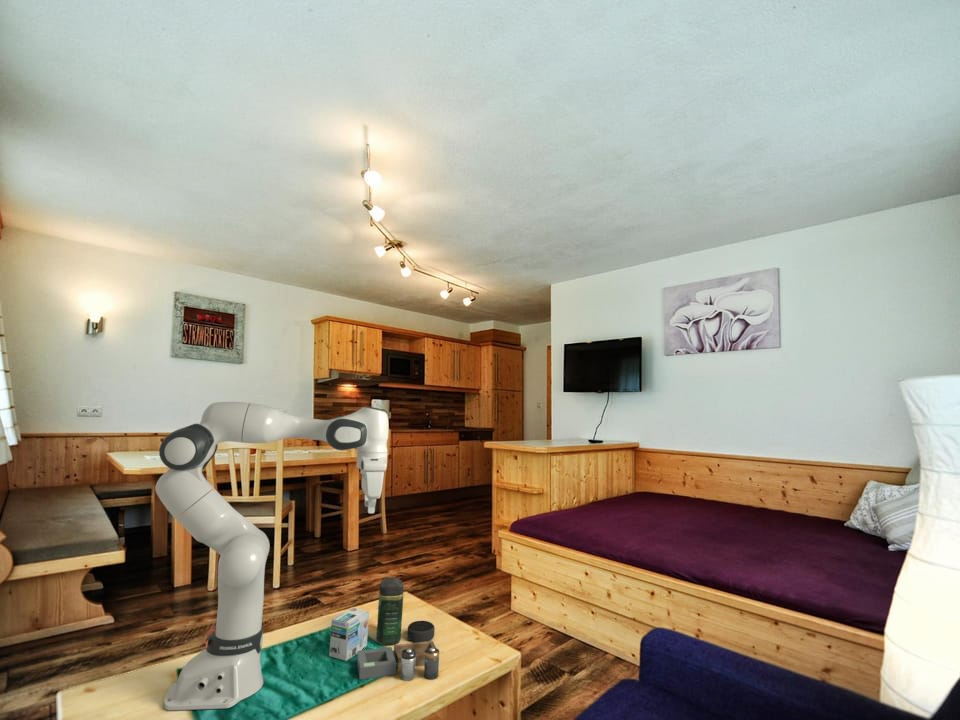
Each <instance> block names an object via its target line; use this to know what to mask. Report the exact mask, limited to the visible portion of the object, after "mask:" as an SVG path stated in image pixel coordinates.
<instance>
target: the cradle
mask: <svg viewBox="0 0 960 720" xmlns="http://www.w3.org/2000/svg"><path fill="white" fill-rule="evenodd" d="M356 665H357V672H358V678H359V680H366V679H375V678H381V677H389V676H396V675H397V665H396V660H395V657H394V650H393V648H392V647H391V646H389V647H382V648H381V647H379V648H371V649H363V650H361V651H357V654H356Z"/></svg>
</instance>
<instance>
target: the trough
mask: <svg viewBox="0 0 960 720" xmlns="http://www.w3.org/2000/svg"><path fill="white" fill-rule="evenodd" d="M428 648H437V647H436V645H435V643H434V641H433V640H430V641H427V642H418V643H416V642H411V643H410V642H409V643H402V644H393V654H394V657H395V660H396V663H397V665H396V669H397V670H399V669H400V670H401V657H402V651H403V650H405V649H414V650H415V651H416V663H415V668H416V667H422V666H423V667H424V666H425V650H426V649H428Z"/></svg>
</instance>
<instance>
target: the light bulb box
mask: <svg viewBox="0 0 960 720" xmlns="http://www.w3.org/2000/svg"><path fill="white" fill-rule="evenodd" d="M369 618H370V611H368V610H366V609H365V610H364V609H361V608H357V607H350V608H349V609H347V610H345V611H344V612H342V613H339V614H338V615H337V616H335V617H333V618H331V624H330V625H331V626H330V639H329V640H330V642H329V653H328V654H329V657H331V658H334V659H339V660H342V661H345V662H347V661H349V660H350V659H351V658H353V657H354V656H356V655H357V651H361V650H362V649H363V648H364V647H366V646H368V634H369V633H368V631H369ZM366 648H367V647H366ZM364 649H365V648H364ZM364 649H363V650H364ZM355 654H356V655H355Z"/></svg>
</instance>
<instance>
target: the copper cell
mask: <svg viewBox="0 0 960 720" xmlns="http://www.w3.org/2000/svg"><path fill="white" fill-rule="evenodd" d="M439 663H440V649H438V648H437V647H436V648H428V649H426V650H425V666H423V667H424V669H423V678H424V679H426V680H429V681H433V680H436V679H438V678H439V666H440V665H439Z"/></svg>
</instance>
